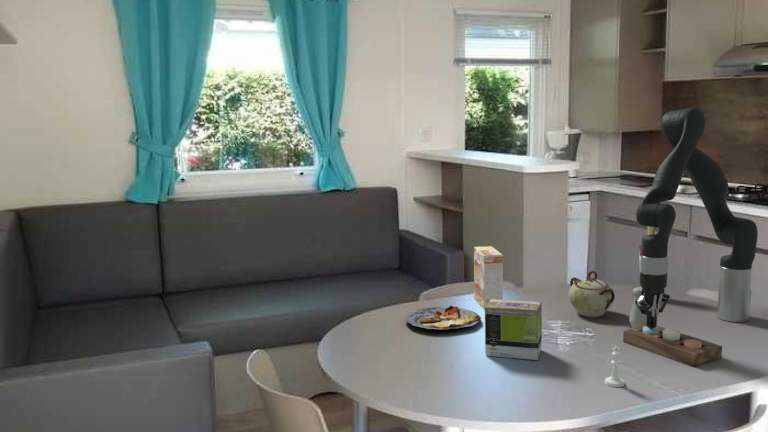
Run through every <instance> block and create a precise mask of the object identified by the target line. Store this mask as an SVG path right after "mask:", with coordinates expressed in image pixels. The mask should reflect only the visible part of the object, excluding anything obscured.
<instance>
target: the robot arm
mask: <svg viewBox="0 0 768 432" xmlns="http://www.w3.org/2000/svg"><path fill="white" fill-rule="evenodd" d="M705 127H706V116H705V114H704V113H703V111H702V110H701V109H699V108H698V107H688V108H681V109H677V110H672V111H669V112H666V113H664V115H663V116H662V118H661V128H662V132H663V134H664V136H665V138H666V140H667V142H668V143H669V145H671V147H672V149H673V150H672V151H671V153H669V154H668V156H666V158H664V160H663V161H662V162H661V163H660V165H659V166H658V168H657V170H656V172H655V175H654V178H653V181H652V184H651V188H650V189H649V190H648V192H647V193H646V195H645V196H644V197H643V199H642V200H641V202H640V203H639V205H638V207H637V209H636V212H635V217H636V222H637V223H638V225H640V226H642V227H647V226H648V227H655V228H657V229H658V231H657V233H654V234H650V235H647V234H645V235H644V236H643V237H642V238H641V245H642V253H641V261H640V264H639V287H640V286H641V287H642V292H641V297H640V298H639V300H638V299H636V300H635V303H636V305H637V307H638V308H639V310H640V312H641V313H642V314H645V315H647V323H646V325H647V327H648V328H651V329H653V328H656V325H657V324H658V316H659V314H660V313H663V311H664V309H665V308H666V305H667V303H668V302H669V300H670V297H671V296H670V294H667V293H665V289H666V288H667V286H668V269H669V268H668V266H669V263H668V250H669V249H668V247H669V246H668V243H669V239H670V235H671V232H672V229H673V227H674V224H675V222H676V221H675V220H676V218H677V213H676V210H675V207H674V206H673V205H672V204H669V203H663V202H668V201H672V200H674V199H675V198H676V196H677V192H678V190H679V185H680V183H681V180H682V179H681V178H682V177H683V174H684V171H685V170H686V172H687V174H688V176H689V178H690V180H691V182H692V183H691V184H693V185H692V186H694V189H695V191H696V193H697V194H698V195H699V197H700V199H701V201H702V203H703V206H704V208H705V209H706V212H707V213H708V217H709V219H710V221H711V225H712V227H713V231H714V233H715V235H716V237H717V238H718V240H719V241H720V242H722V244H725V245H729V246H732V251H731V253H730V254H726V255H722V256H721V258H720V260H719V277H718V280H719V281H718V293H717V307H716V308H717V309H716V311H717V312H716V313H717V314H716V317H717V318H718V319H720V320H723V321H726V322H733V323H735V322H736V323H737V322H739V323H743V322H748V321H749V319H750V318H751V317H750V315H751V303H752V300H751V299H752V288H751V286H752V285H751V284H752V269H753V262H754V261H755V258H756V252H757V243H758V236H759V235H758V231H759V230H758V226H757V224H756V223H755V222H754V220H751V219H749V218H743V217H738V216H735V215H734V214H733V213H732V211H731V209H730V207H729V205H728V203H727V196H728V192H729V183H728V179H727V178H726V175H725V173H724V171H723V169H722V167H721V166H720V164H719V163H718V162H717V161H716V160H714V159H713V158H712V157H711V156H710V155H708V154H706V153H705V152H703V151H702V150H701V149H699V148H698V147H697V146H698V144H699V142H700V140H701V138H702V136H703V134H704V132H705ZM657 326H658V325H657Z"/></svg>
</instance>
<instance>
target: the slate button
mask: <svg viewBox="0 0 768 432" xmlns="http://www.w3.org/2000/svg"><path fill="white" fill-rule="evenodd" d="M643 333H646V334H649V335H652V336H653V335H657V334H659V328H657V327H656V328H653V329H651V328H648V327H647V326H645V327H643Z"/></svg>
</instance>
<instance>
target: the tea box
mask: <svg viewBox="0 0 768 432" xmlns="http://www.w3.org/2000/svg"><path fill="white" fill-rule="evenodd" d="M542 305H543V304H542V301H538V300H521V299H520V300H519V299H504V298H503V299H491V300H490V301H489V303H488V304H487V306H486V307H485V310H484V341H485V342H484V344H485V346H484V349H485V350H484V351H485V356H487V357H498V358H509V359H521V360H532V361H538V360H539V357H540V354H541V351H542V346H543V345H542V341H543V340H542V339H543V336H542V335H543V333H542V332H543V331H542V329H543V327H542V323H543V322H542V318H543V317H542V315H543V314H542V309H543V308H542Z"/></svg>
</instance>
